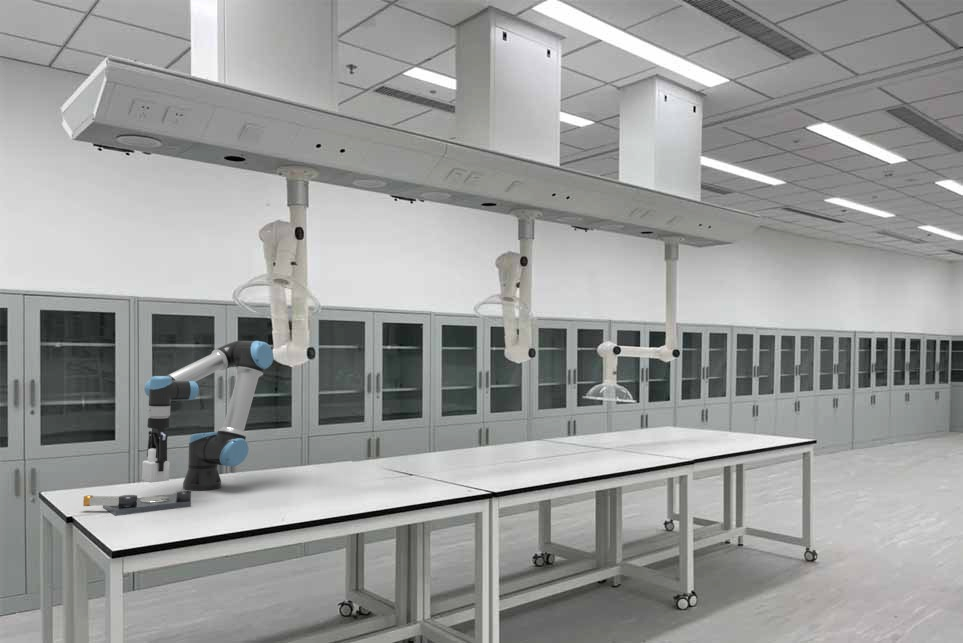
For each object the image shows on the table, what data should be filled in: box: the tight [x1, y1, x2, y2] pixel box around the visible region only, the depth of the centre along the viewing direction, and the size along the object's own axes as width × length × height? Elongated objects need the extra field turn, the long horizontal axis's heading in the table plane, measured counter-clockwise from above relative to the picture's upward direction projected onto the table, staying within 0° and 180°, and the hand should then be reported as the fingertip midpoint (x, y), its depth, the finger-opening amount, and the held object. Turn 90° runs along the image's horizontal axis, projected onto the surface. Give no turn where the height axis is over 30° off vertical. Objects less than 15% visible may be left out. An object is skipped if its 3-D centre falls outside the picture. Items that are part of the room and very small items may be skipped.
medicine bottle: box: [141, 448, 171, 483], centre depth 269 cm, size 7×7×12 cm
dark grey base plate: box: [102, 493, 192, 517], centre depth 266 cm, size 26×16×2 cm, turn 132°
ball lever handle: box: [82, 494, 138, 507], centre depth 257 cm, size 18×6×3 cm, turn 96°
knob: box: [175, 490, 192, 502], centre depth 270 cm, size 8×5×3 cm, turn 42°
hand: (155, 478), depth 269 cm, fingers closed on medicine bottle, 8 cm apart
